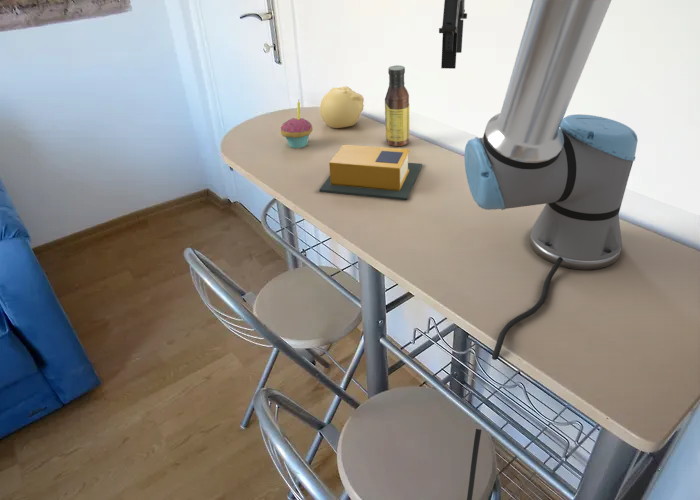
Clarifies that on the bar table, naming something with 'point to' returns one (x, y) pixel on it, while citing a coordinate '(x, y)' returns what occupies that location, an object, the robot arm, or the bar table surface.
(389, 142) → the sauce bottle
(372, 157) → the yellow box with panel
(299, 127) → the cupcake
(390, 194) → the desk mat
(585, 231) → the robot arm
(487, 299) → the bar table surface
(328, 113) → the sculpture
